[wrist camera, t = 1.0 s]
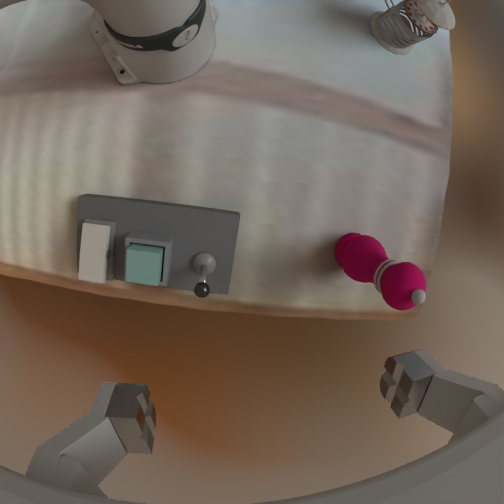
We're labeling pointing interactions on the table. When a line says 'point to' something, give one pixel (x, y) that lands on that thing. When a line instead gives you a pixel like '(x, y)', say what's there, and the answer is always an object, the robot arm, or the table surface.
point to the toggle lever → (202, 283)
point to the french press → (398, 26)
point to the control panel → (166, 238)
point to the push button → (144, 264)
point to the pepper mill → (381, 271)
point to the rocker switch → (94, 252)
